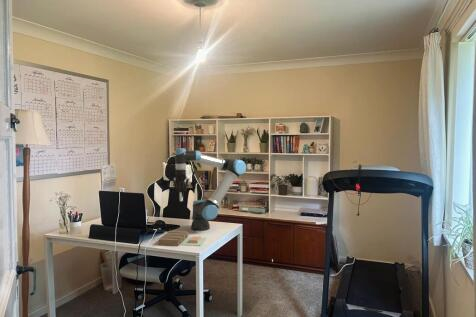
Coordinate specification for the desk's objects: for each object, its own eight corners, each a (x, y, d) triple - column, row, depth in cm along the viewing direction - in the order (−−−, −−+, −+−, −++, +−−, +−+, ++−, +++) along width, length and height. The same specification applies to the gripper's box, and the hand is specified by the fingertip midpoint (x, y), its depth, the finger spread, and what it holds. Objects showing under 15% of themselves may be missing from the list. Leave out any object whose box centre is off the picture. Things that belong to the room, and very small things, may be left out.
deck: (169, 236, 258) (169, 230, 258) (187, 236, 256) (187, 231, 256) (158, 245, 237) (158, 239, 237) (178, 245, 235) (178, 240, 234)
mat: (188, 237, 254) (188, 237, 254) (207, 238, 252) (207, 237, 252) (180, 245, 237) (180, 244, 236) (200, 245, 234) (200, 245, 234)
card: (200, 236, 248) (200, 239, 248) (192, 236, 249) (192, 239, 249) (197, 240, 239) (197, 243, 239) (189, 240, 240) (189, 242, 240)
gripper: (170, 169, 252) (171, 201, 254) (187, 169, 250) (188, 202, 252) (173, 168, 260) (174, 199, 261) (190, 168, 258) (191, 200, 259)
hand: (181, 201), depth 257 cm, fingers closed
